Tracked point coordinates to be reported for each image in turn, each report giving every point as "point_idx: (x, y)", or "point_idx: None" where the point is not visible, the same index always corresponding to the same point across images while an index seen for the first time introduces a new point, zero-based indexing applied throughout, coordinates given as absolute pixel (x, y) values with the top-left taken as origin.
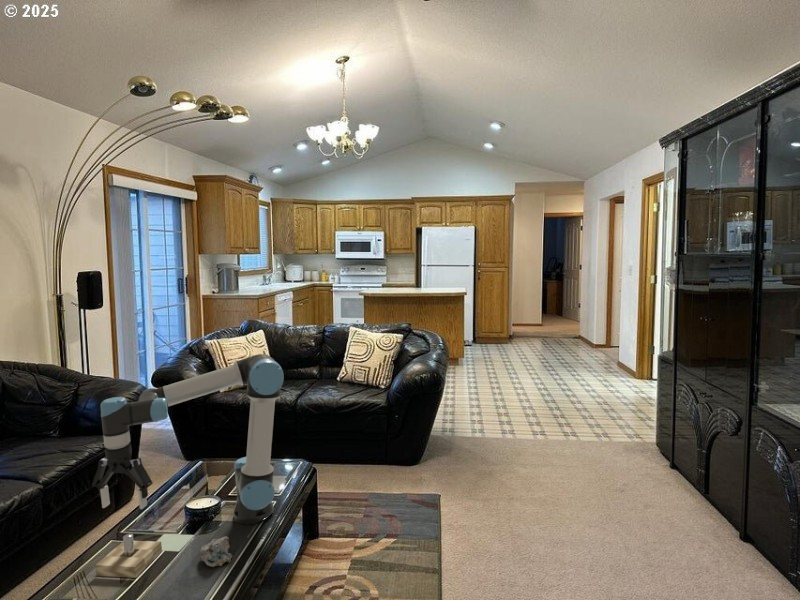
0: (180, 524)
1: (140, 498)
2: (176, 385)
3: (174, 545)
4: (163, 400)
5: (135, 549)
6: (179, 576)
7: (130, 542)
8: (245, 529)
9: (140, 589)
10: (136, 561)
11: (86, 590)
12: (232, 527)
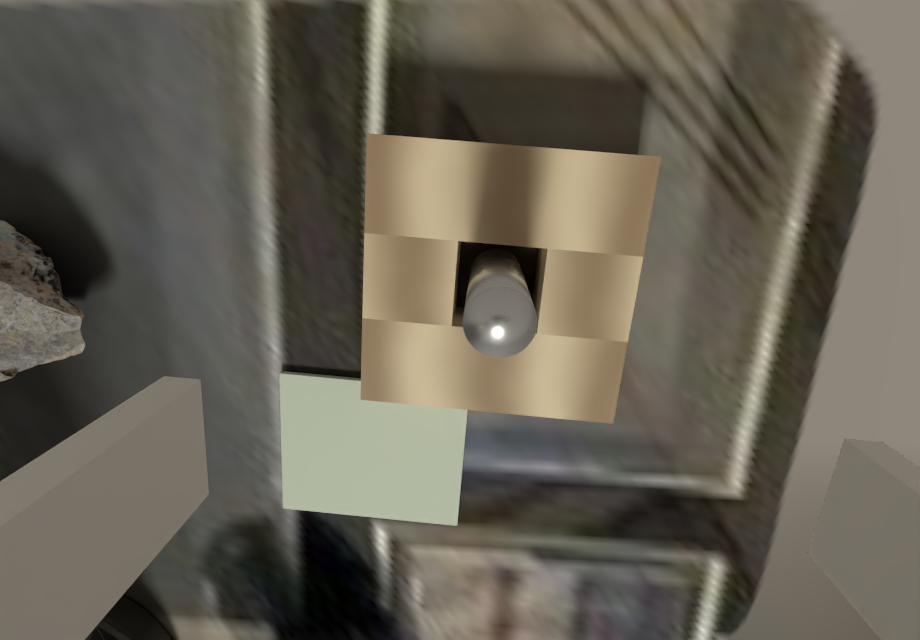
0: (422, 603)
1: (9, 482)
2: None
3: (336, 425)
4: None
5: None
6: (145, 158)
7: (469, 291)
8: None
9: (295, 36)
10: (393, 195)
11: (626, 22)
12: None
